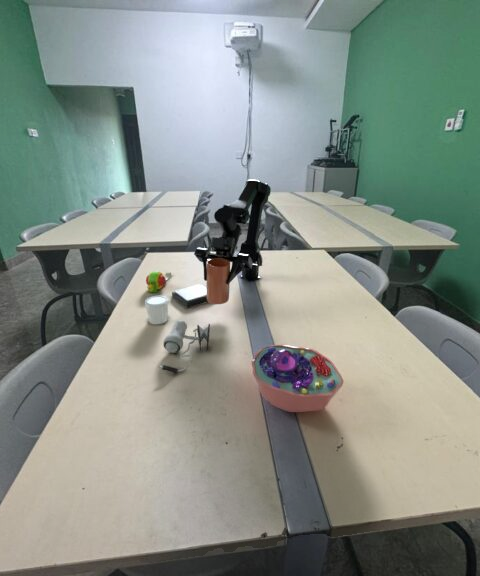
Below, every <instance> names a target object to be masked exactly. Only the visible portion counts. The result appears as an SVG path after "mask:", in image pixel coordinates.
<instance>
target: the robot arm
mask: <svg viewBox="0 0 480 576" xmlns="http://www.w3.org/2000/svg"><path fill="white" fill-rule="evenodd" d="M271 189H272V188H271V186H270V185H269V184H268V183H264V182H262V181H261V180H259V179H247V180H246V181H245V186H244V188H243V189H242V191H241V193H240V195H238V198H237V200H235V201H233V202H231V203H229V204H223V205H222V207H219V208H218V209H217V210H216V211H215V212H214V214H213V218H214V220H215V222H216V224H217V226H218V227H219V229H220V230H221V231H222V233H221V236H219V237H214V236H212V237H211V240H210V245H209V248H210V249H211V248H212V249H213V250H212V251H213V252H215V253H213V252H210V250H209V249H208V248H205V247H197V248H195V250H194V252H193V255H194V256H195V257H196V259H197V260H198V261H199V262H200V263H202V265H203V266H202V267H203V280H204V281H205V282H206V262H207V260H209V259H213V258H222V259H226V260H228V261H230V263H231V267H230V273H229V276H228V278H227V284H229V283H232V281H234V279H235V278H236V277H237V276H238V275H239V274H240V273H241V275H240V276H239V277H240V278H242V279H244V280H245V281H248V282H252V281H256V280H259V279H261V278H262V277H261V276H260V275H259V269H260V267H262V266H263V262H264V261H263V260H264V258H263V256H262V253H261V248H260V247H261V246H260V244H259V243H258V241H259V236H260V235H259V234H260V228H261V221H262V216H263V208H264V206H265V205H267V202H268V201H269V196H270V195H271V192H272V191H271ZM249 209H250V210H249ZM247 222H248V226H247V232H246V239H245V240H244V242H241V244H240V250H239V251H238V253H237V254H236V256H235V253H236V251H237V249H238V247H239V246H238V242H239V239H240V236H241V235H242V234H243V232H242V227H241V226H240V225H246V224H247ZM229 285H230V284H229Z"/></svg>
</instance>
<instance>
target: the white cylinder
mask: <svg viewBox="0 0 480 576" xmlns="http://www.w3.org/2000/svg"><path fill="white" fill-rule="evenodd" d="M144 305H145V309H146V313H147V317H148V322H149V324H151V325H162V324H165V323H167V322H168V319H169V299H168V297H167V296H164V295H153V296H150V297H147V298H145V299H144Z"/></svg>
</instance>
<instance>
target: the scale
mask: <svg viewBox="0 0 480 576" xmlns="http://www.w3.org/2000/svg"><path fill="white" fill-rule="evenodd" d="M171 297H172V298H173V299H174V300H176V301H177V302H178V303H180V304H181V305H182V306H184V307H185V308H186V309H189V308H193V307H196V306H199V305H202V304H205V303H209V302H208V301H207V298H206V286H204V285H202V284H200V283H199V284H195V285H191V286H187V287H184V288H180V289H175V290H174V291H171Z"/></svg>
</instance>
